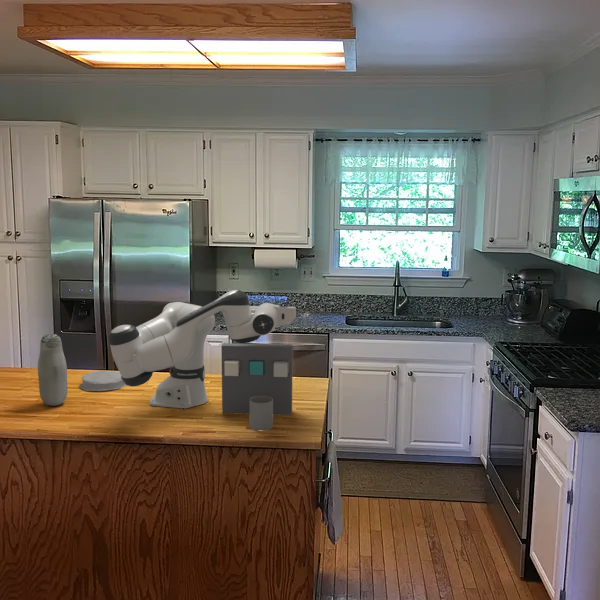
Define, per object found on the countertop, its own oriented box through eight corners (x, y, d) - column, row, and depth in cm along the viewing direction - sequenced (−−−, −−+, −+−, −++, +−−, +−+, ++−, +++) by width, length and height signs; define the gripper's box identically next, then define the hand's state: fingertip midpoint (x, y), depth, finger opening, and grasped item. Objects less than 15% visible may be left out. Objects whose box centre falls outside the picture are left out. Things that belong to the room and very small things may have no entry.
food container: (92, 378, 283) (91, 363, 282) (135, 379, 281) (134, 364, 279) (71, 392, 264) (69, 377, 262) (117, 394, 261) (116, 378, 260)
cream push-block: (224, 375, 234) (224, 362, 233) (227, 371, 239) (226, 358, 239) (238, 376, 233) (238, 362, 233) (240, 371, 239) (240, 358, 238)
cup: (249, 422, 230) (249, 395, 229) (272, 421, 231) (272, 395, 229) (249, 431, 222) (249, 403, 220) (273, 430, 223) (273, 403, 221)
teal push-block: (249, 374, 235) (249, 361, 234) (251, 370, 241) (251, 357, 240) (263, 375, 235) (263, 361, 234) (264, 370, 241) (264, 357, 240)
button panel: (222, 413, 239) (221, 345, 235) (223, 409, 243) (223, 343, 239) (291, 414, 238) (292, 347, 234) (292, 411, 242) (292, 344, 238)
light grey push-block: (273, 376, 233) (273, 363, 232) (274, 372, 239) (274, 359, 238) (287, 377, 233) (287, 363, 232) (288, 372, 239) (288, 359, 238)
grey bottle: (35, 404, 246) (31, 334, 242) (60, 398, 254) (57, 329, 249) (47, 411, 240) (43, 338, 235) (73, 404, 247) (69, 334, 242)
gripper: (238, 323, 231) (243, 316, 245) (294, 324, 230) (296, 317, 244) (238, 306, 230) (243, 300, 244) (295, 307, 229) (296, 300, 243)
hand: (270, 308), depth 244 cm, fingers closed
